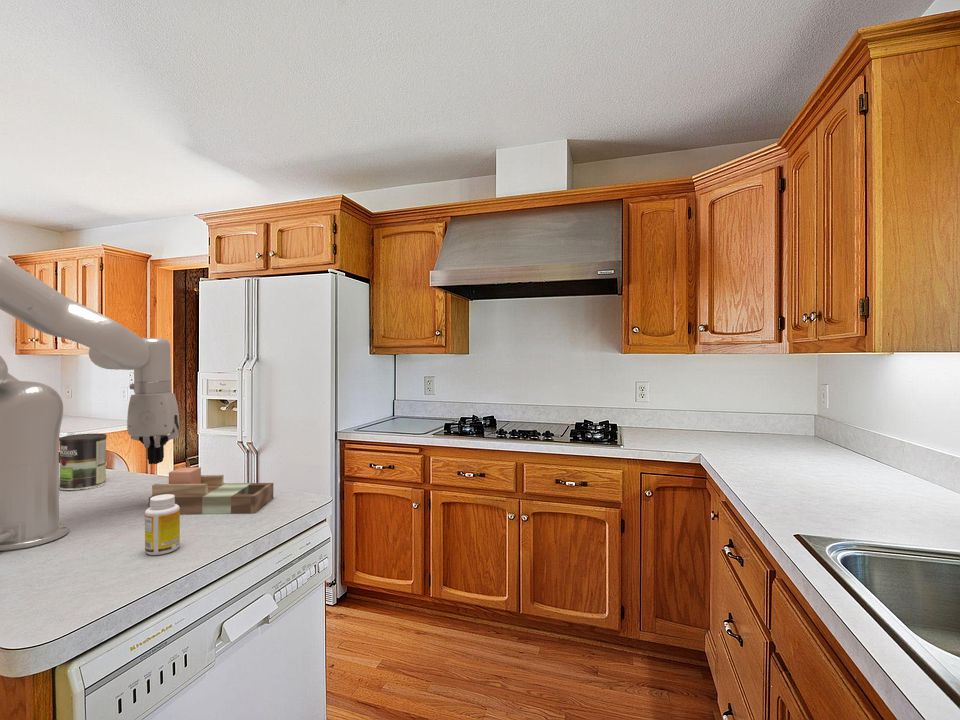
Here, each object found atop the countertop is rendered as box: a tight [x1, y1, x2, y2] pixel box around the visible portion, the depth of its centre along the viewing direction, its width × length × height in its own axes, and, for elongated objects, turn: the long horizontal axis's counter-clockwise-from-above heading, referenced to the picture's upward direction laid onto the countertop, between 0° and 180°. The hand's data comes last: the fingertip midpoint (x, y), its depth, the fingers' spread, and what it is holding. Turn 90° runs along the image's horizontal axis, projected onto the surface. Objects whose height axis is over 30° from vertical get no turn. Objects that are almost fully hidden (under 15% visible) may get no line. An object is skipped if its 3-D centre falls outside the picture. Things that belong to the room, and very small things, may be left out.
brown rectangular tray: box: [148, 474, 274, 515], centre depth 118 cm, size 12×24×6 cm, turn 94°
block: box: [168, 466, 202, 484], centre depth 118 cm, size 5×5×5 cm
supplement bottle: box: [144, 494, 181, 556], centre depth 92 cm, size 6×6×10 cm
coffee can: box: [59, 432, 107, 491], centre depth 135 cm, size 10×10×14 cm
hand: (155, 462), depth 118 cm, fingers closed
